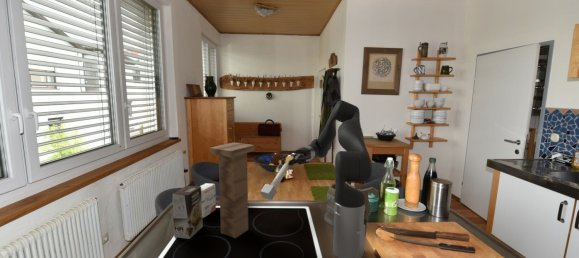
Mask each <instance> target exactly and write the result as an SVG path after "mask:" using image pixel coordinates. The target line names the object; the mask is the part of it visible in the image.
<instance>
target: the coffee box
mask: <svg viewBox="0 0 579 258" xmlns="http://www.w3.org/2000/svg"><path fill="white" fill-rule="evenodd" d="M171 198H172V214H173V215H172V216H173V237H174V238H180V239H186V240H190V239H191V238H193V237H194V236H195V235H196V234H197V233H198V232H199V231H200V230H201V229H202V228H203V227H204V226H203V225H204V224H203V218H202V195H201V187H200V186H198V185H186V186H184V187H181V188H180V189H178V190H176V191H175V192H173V193H172V197H171Z"/></svg>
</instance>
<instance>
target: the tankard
mask: <svg viewBox="0 0 579 258" xmlns="http://www.w3.org/2000/svg"><path fill="white" fill-rule="evenodd" d="M345 183H346V182H345ZM346 184H348V185H349V186H351V187H352V188H355V189H357V190H359V191H361V192H362V193H363V194H364V195H365V208H364V219H368V217H369V216H370V215H371V214H372V213H371V212H372V211H371V210H372V205H371V203H370V199H369V194H372V193H373V194H374V195H377V194H378V193H379V190H378V189H376V188H375V187H373V186H370V187H368V188H363V189H360V188H359V189H358V188H356V186H354V185H352V184H350V183H348V182H347V183H346ZM326 200H328V201H327V204H326V206H325V208H326V209H325V210H326V212H325V214H324V217H323V218H324V221H325V222H326V223H328V224H329V225H330V226H331V227H334V205H335V183H330V184H329V186H328V191H327V192H326Z"/></svg>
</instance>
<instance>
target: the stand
mask: <svg viewBox="0 0 579 258" xmlns="http://www.w3.org/2000/svg"><path fill="white" fill-rule="evenodd" d="M255 149H256V148H255V144H248V143H241V142H229V143H226V144H220V145H217V146H213V147H209V154H210V155H211V154H212V155H215V156H216V155H217V156H218V177H219V178H218V179H219V181H218V183H219V211H220V212H219V213H220V215H219V216H220V219H219V220H220V234H222V235H225V236H228V237H231V238H233V239H237V238H239V237H240V236H241V235H242V234H244V233H246V232H247V231H249V201H248V200H249V195H248V194H249V193H248V192H249V191H248V189H249V187H248V186H249V185H248V153H251V152H254V151H255Z"/></svg>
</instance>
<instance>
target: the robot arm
mask: <svg viewBox="0 0 579 258" xmlns="http://www.w3.org/2000/svg"><path fill="white" fill-rule="evenodd" d="M360 114H361V113H360V109H359V107H358V106H356V105H354V104H352V103H350V102H348V101H345V100H342V99H341V100H338V101H337V102H336V103H335V105H334V107H333V108H332V111H331V112H330V114H329V118H327V121H326V123H325V126H324V128H323V129H322V131H321V133H320V135H319V136H318V137H317V138H315V139H313V140H312V141H311V142H310V143H309V144H308V145H304V146H302V147H299V148H297V149H295V150H294V151H293V153H290V154H288V153H283V156H282V159H281V165H282V166H283V165H284V161H285V159H286V158H287V156H293V157H294V159H292V160H289V166H291V165H292V166H293V165H299V166H300V165H305V164H309V163H310V161H311V160H313V159H316V157H317V158H319V159H321V158H322V159H323V158H325V157H326V156H327V155H328V153H329V151H330V147H331V144H332V143H333V142H334V140H335V138H336V136H337V141H338V144H339V145H340V146H341V148H342V149H344V150H339V151H338V152H337V153H336V155H335V158H334V159H335V160H334V177H335V179H334V180H335V181H334V182H335V205H334V226H333V239H332V241H333V242H332V253H333V255H334V256H335V257H336V258H362V257H363V256H364V253H365V243H366V242H365V241H366V224H365V218H364V212H365V209H366V208H365V195H364V194H363V193H362V192H361V191H359V190H357V189H358V188H352V187H351V186H349V185H348V184H349V183H347V184H346V182H350V183H352V182H354V183H364V182H368V181H370V179H371V178H372V174H373V164H372V159H371V156H370V153H369V151H368V148H367V146H366V143H365V137H364V132H363V129H362V126H361V121H360V120H361V117H360ZM336 121H338V122H340V125H339V127H338V129H337V128H336Z"/></svg>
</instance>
